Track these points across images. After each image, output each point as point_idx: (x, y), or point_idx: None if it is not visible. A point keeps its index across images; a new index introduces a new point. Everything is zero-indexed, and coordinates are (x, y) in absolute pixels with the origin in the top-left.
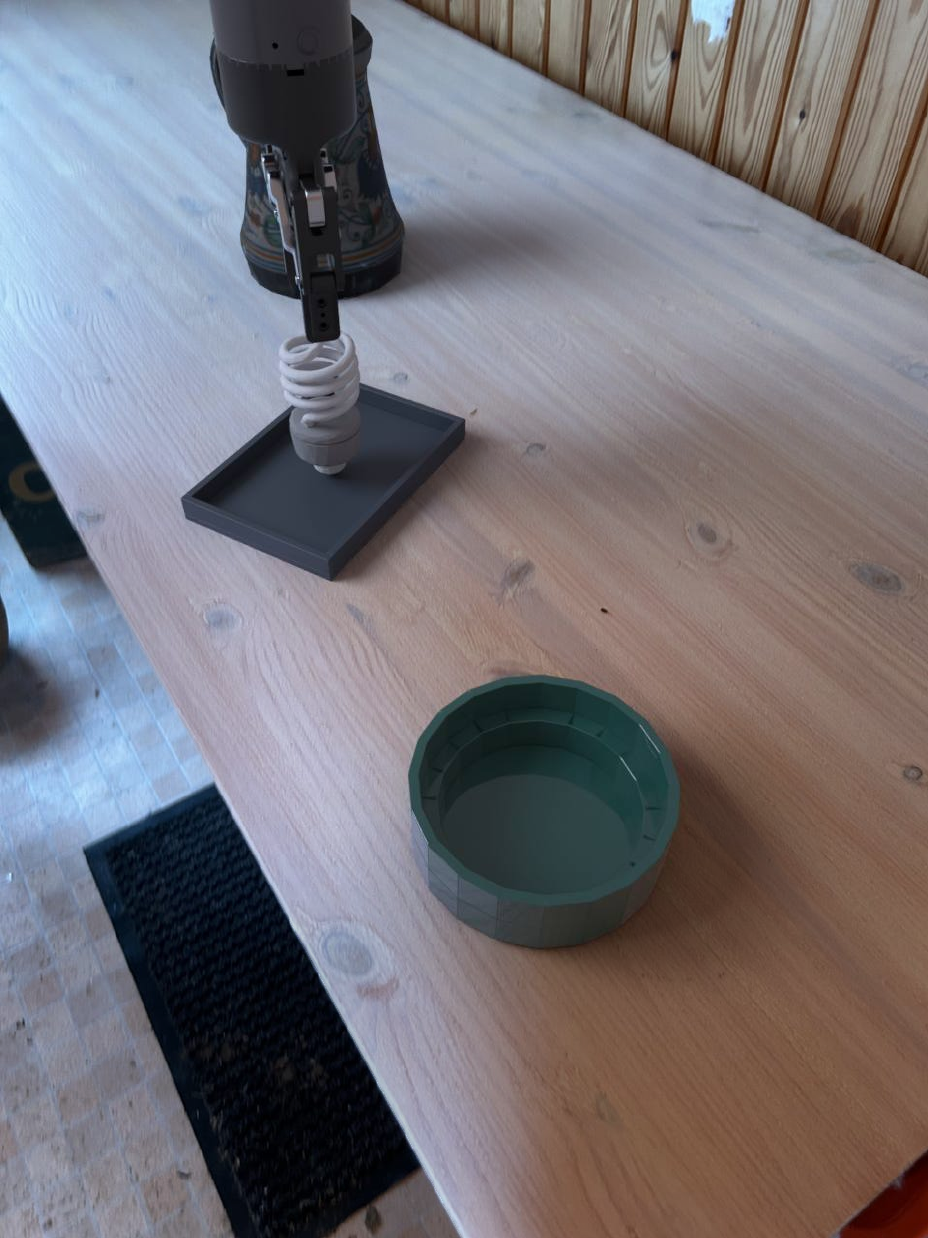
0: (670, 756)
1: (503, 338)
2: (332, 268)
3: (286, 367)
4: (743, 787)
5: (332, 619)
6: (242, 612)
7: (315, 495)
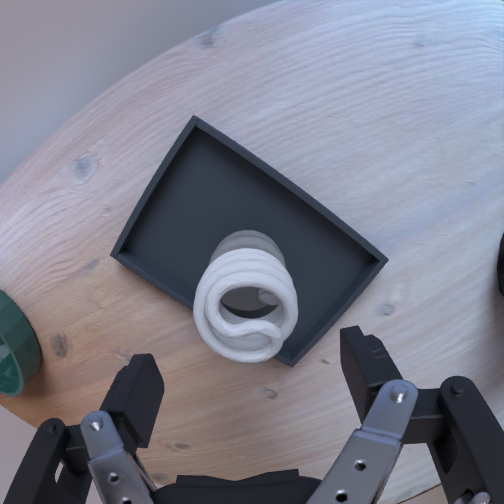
0: (6, 395)
1: (411, 378)
2: (84, 473)
3: (221, 276)
4: (41, 402)
5: (85, 248)
6: (88, 182)
7: (214, 237)
